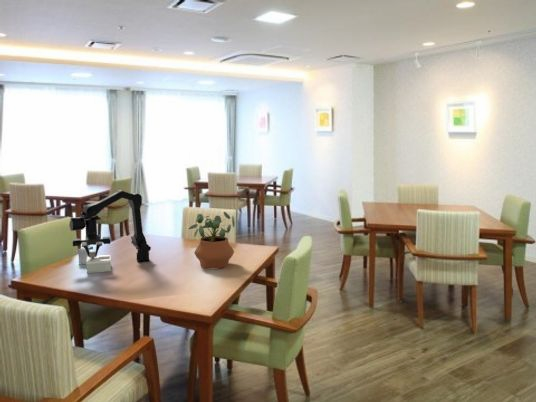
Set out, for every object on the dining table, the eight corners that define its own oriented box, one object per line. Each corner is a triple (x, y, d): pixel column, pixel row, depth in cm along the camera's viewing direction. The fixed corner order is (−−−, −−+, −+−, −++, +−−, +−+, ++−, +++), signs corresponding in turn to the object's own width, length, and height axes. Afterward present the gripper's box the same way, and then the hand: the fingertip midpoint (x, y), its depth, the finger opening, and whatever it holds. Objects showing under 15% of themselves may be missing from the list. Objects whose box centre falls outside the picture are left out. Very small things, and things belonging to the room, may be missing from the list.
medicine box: (85, 264, 251) (85, 249, 249) (78, 264, 252) (77, 249, 250) (93, 261, 258) (93, 246, 257) (87, 260, 259) (86, 245, 258)
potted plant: (215, 273, 236) (215, 217, 232) (177, 264, 252) (176, 212, 247) (242, 263, 255) (242, 211, 250) (205, 256, 270) (204, 207, 266)
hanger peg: (97, 263, 244) (96, 249, 243) (97, 266, 239) (96, 251, 238) (88, 264, 243) (88, 249, 242) (88, 266, 238) (87, 252, 236)
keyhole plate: (110, 265, 250) (110, 254, 249) (111, 271, 239) (110, 260, 238) (87, 267, 246) (87, 256, 245) (86, 273, 235) (86, 262, 234)
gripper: (71, 232, 228) (72, 262, 230) (110, 230, 234) (111, 259, 236) (72, 228, 238) (74, 257, 240) (109, 226, 244) (111, 254, 246)
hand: (92, 257), depth 240 cm, fingers closed on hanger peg, 3 cm apart
